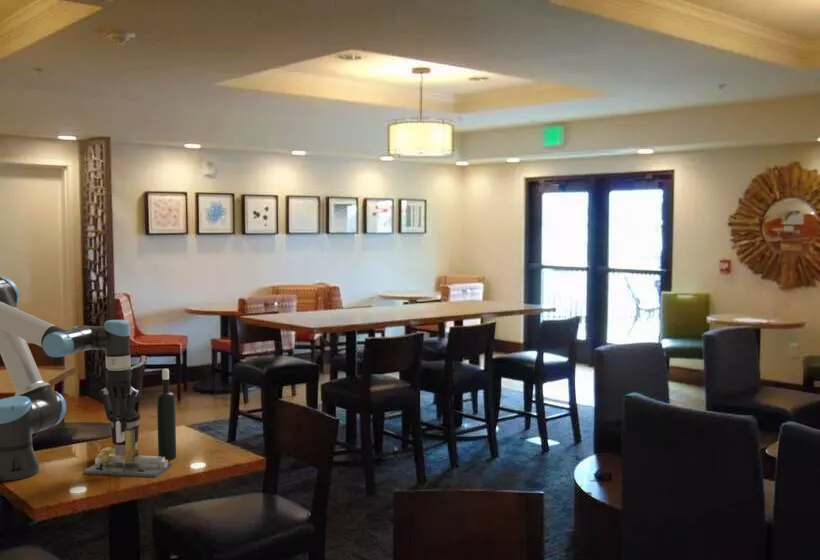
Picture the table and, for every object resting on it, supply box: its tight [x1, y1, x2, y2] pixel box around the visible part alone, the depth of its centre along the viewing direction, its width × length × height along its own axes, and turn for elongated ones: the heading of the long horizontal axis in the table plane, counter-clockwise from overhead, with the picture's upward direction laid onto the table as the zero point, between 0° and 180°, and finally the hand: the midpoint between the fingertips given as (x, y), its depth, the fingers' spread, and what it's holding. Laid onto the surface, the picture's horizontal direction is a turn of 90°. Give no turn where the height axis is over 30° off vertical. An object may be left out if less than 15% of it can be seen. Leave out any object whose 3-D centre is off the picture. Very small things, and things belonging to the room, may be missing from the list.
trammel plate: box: [83, 446, 173, 478], centre depth 255 cm, size 24×11×6 cm, turn 82°
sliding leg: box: [120, 426, 139, 468], centre depth 255 cm, size 3×8×12 cm, turn 172°
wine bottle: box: [156, 368, 177, 461], centre depth 268 cm, size 6×6×30 cm
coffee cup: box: [108, 409, 141, 455], centre depth 273 cm, size 10×10×15 cm
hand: (120, 441), depth 257 cm, fingers closed
